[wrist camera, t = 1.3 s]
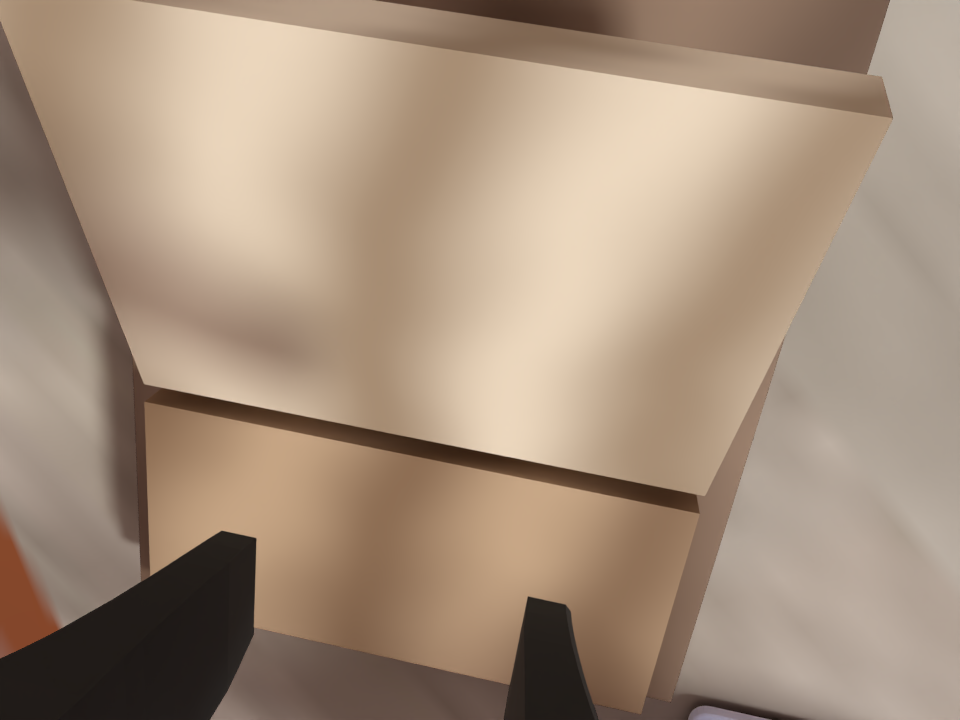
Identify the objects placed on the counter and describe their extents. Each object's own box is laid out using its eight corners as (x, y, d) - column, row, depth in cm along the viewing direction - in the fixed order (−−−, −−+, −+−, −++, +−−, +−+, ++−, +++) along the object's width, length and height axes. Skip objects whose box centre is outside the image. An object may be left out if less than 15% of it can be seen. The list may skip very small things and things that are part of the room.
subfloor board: (893, -84, 16) (943, -104, 14) (667, 664, 24) (673, 736, 22) (149, -183, 18) (73, -217, 15) (166, 554, 26) (119, 610, 23)
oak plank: (881, 77, 12) (892, 118, 11) (705, 455, 20) (704, 496, 19) (26, -53, 13) (-18, -23, 13) (165, 350, 21) (143, 383, 20)
